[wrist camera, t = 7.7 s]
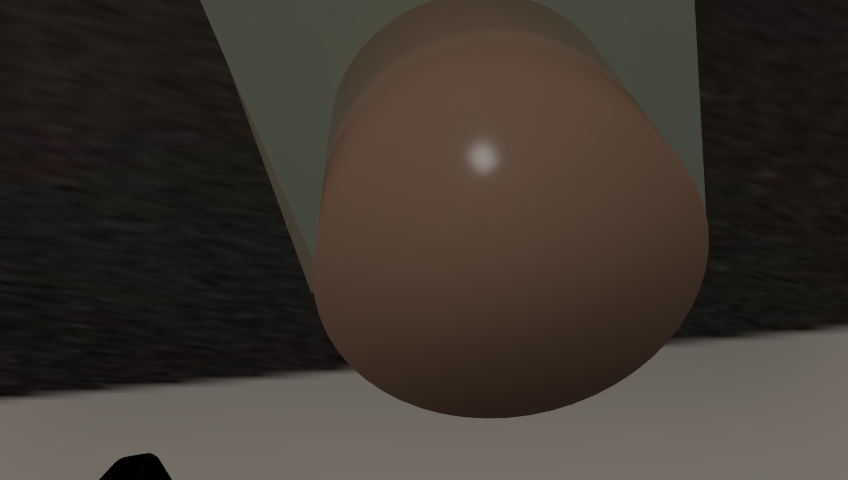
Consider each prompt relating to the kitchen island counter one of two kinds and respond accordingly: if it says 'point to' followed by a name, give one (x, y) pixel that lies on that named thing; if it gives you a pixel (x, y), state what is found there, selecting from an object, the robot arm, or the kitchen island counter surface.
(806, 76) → the kitchen island counter surface
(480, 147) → the tan short cylinder
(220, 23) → the top slab
